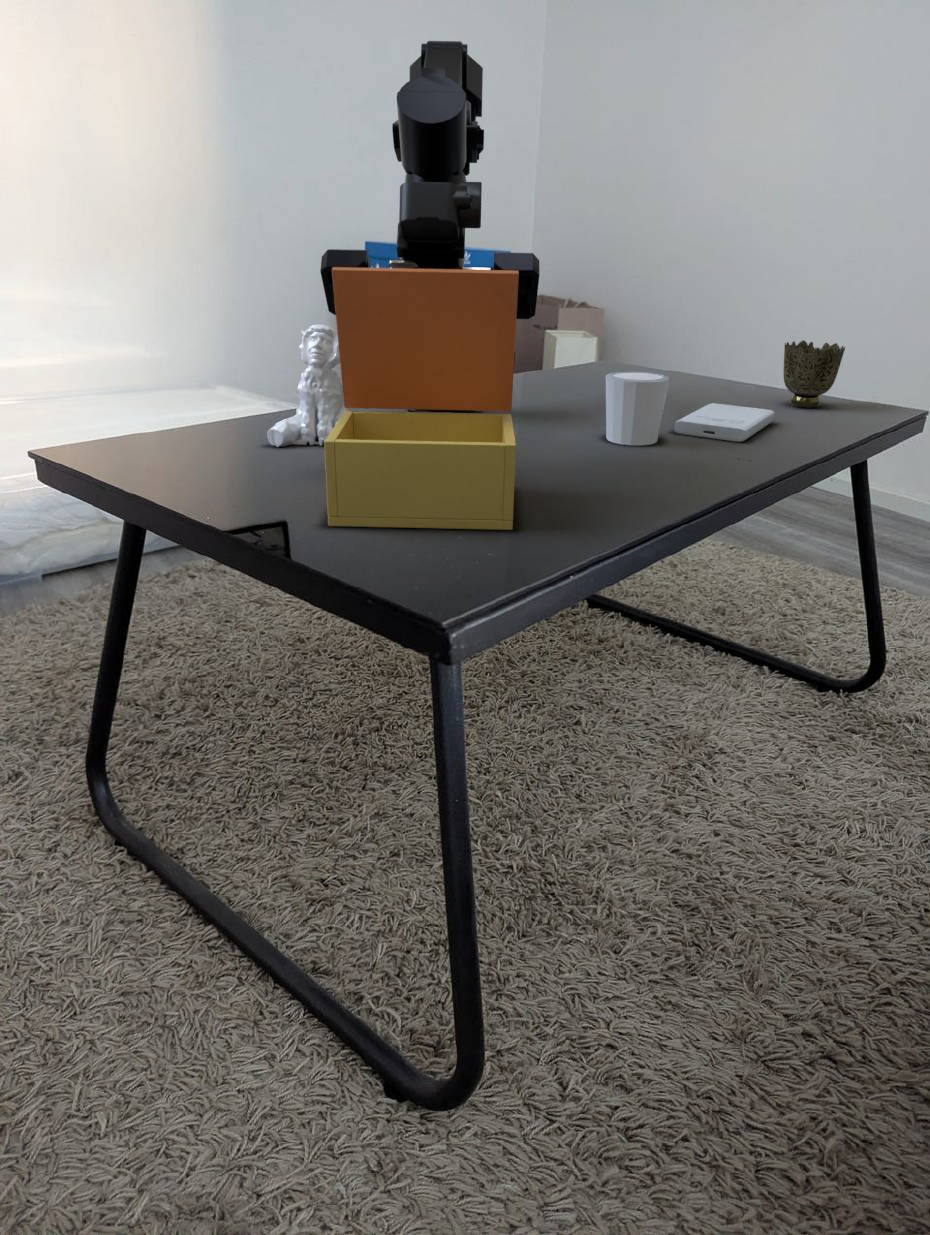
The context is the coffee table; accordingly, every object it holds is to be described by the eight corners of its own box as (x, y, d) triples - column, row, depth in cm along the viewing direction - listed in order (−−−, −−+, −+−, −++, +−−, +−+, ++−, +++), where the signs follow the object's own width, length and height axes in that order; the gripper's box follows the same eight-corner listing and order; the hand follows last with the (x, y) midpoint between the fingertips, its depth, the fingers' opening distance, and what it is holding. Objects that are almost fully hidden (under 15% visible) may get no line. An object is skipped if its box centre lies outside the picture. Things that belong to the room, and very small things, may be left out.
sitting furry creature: (265, 447, 94) (256, 327, 89) (290, 429, 102) (283, 318, 97) (354, 451, 93) (350, 330, 88) (371, 433, 101) (369, 321, 96)
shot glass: (662, 448, 96) (670, 382, 94) (598, 444, 98) (603, 379, 95) (663, 434, 103) (669, 372, 100) (602, 431, 104) (607, 369, 101)
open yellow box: (512, 530, 71) (516, 445, 68) (327, 526, 71) (323, 441, 68) (508, 489, 81) (511, 413, 79) (347, 485, 81) (344, 410, 79)
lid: (518, 273, 70) (518, 270, 70) (331, 269, 70) (332, 266, 70) (511, 411, 78) (511, 408, 79) (344, 408, 78) (345, 404, 79)
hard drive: (773, 423, 109) (744, 443, 100) (707, 415, 113) (673, 433, 103) (775, 410, 109) (746, 428, 99) (708, 402, 112) (674, 419, 103)
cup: (839, 405, 121) (851, 343, 118) (827, 414, 115) (839, 349, 112) (783, 398, 124) (793, 338, 121) (768, 407, 119) (778, 344, 115)
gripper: (318, 143, 74) (301, 296, 69) (544, 147, 74) (545, 300, 68) (336, 244, 85) (323, 383, 79) (534, 247, 84) (535, 387, 79)
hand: (427, 363), depth 76 cm, fingers closed, pressing on lid
